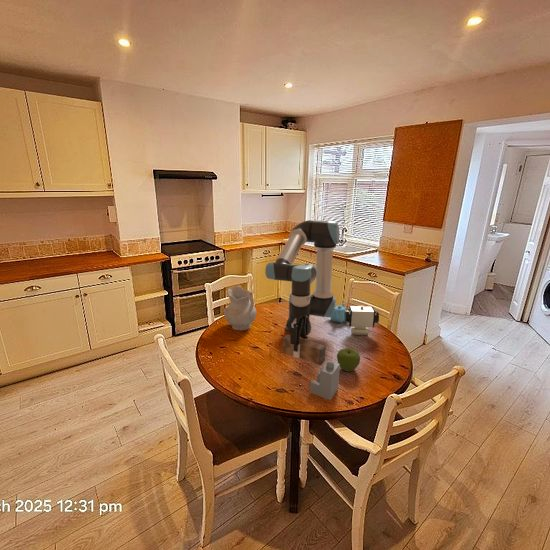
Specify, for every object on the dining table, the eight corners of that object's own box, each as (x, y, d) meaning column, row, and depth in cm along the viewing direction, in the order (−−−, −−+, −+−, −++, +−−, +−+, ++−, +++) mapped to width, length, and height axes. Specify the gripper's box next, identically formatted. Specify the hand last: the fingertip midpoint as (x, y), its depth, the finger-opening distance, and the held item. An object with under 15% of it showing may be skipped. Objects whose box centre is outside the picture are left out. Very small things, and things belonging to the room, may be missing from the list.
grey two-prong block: (310, 392, 124) (311, 362, 120) (318, 381, 131) (320, 352, 127) (330, 400, 119) (332, 369, 115) (338, 388, 126) (340, 358, 122)
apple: (334, 362, 145) (335, 344, 142) (356, 362, 145) (357, 344, 142) (338, 376, 135) (339, 356, 132) (361, 376, 134) (363, 357, 131)
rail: (282, 352, 130) (282, 338, 128) (287, 348, 133) (287, 334, 131) (320, 365, 120) (321, 349, 118) (324, 360, 124) (325, 345, 122)
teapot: (352, 324, 185) (353, 309, 182) (332, 326, 183) (333, 310, 180) (343, 315, 197) (344, 301, 194) (324, 317, 195) (325, 302, 192)
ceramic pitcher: (265, 327, 184) (266, 288, 178) (246, 337, 168) (246, 295, 162) (238, 319, 195) (238, 282, 189) (217, 328, 179) (217, 288, 173)
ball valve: (373, 331, 176) (376, 303, 171) (377, 338, 168) (380, 309, 162) (342, 330, 177) (344, 302, 172) (344, 336, 169) (346, 308, 164)
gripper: (298, 312, 112) (297, 366, 119) (317, 299, 126) (315, 348, 133) (281, 308, 116) (281, 361, 123) (302, 295, 130) (300, 343, 137)
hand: (299, 354), depth 128 cm, fingers closed on rail, 4 cm apart
